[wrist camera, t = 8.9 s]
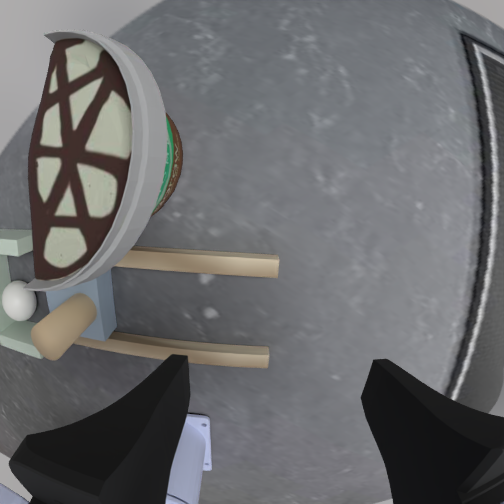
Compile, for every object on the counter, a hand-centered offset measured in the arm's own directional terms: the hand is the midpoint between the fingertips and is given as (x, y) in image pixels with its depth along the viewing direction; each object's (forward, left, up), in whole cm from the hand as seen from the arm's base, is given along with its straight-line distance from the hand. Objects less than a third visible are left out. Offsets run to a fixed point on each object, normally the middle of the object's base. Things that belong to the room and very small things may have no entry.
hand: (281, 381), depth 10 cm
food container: (+8, +8, -11) cm, 16 cm away
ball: (-3, +21, -9) cm, 23 cm away
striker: (-2, +13, -10) cm, 17 cm away
